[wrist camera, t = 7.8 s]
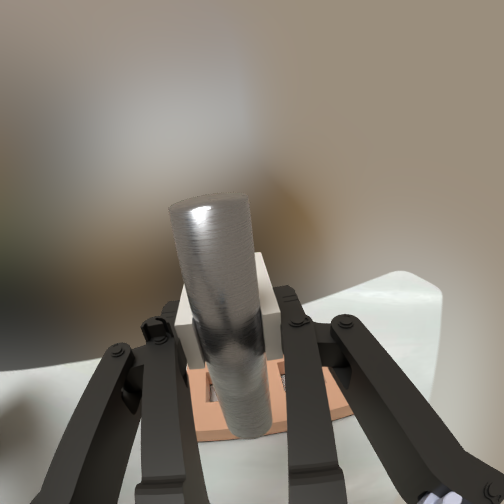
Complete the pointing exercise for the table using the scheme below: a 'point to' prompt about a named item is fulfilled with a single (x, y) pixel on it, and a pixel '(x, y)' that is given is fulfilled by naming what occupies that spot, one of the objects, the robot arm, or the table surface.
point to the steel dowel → (226, 304)
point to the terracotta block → (211, 417)
